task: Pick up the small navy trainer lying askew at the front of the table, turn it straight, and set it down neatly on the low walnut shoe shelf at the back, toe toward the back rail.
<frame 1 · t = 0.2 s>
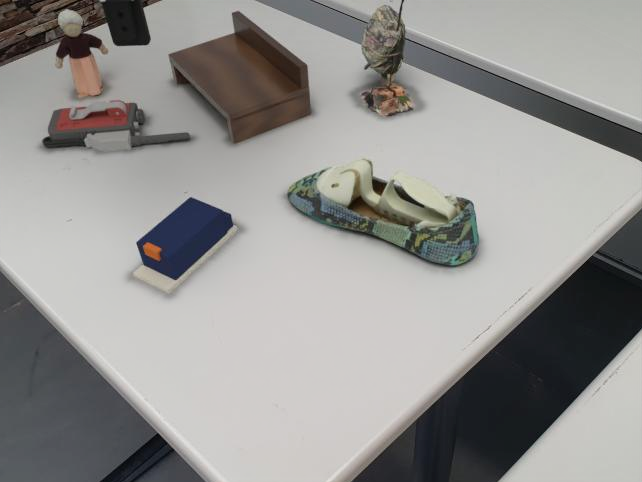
hand: (145, 18, 63), 25 cm above the table, tool pointing down, fingers open, 9 cm apart
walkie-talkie: (121, 138, 96), on the table
plant with pod: (384, 101, 99), on the table
trainer: (188, 256, 79), on the table
grandmother figurine: (95, 95, 104), on the table
shoe shelf: (240, 101, 100), on the table
ballet flat: (380, 226, 81), on the table
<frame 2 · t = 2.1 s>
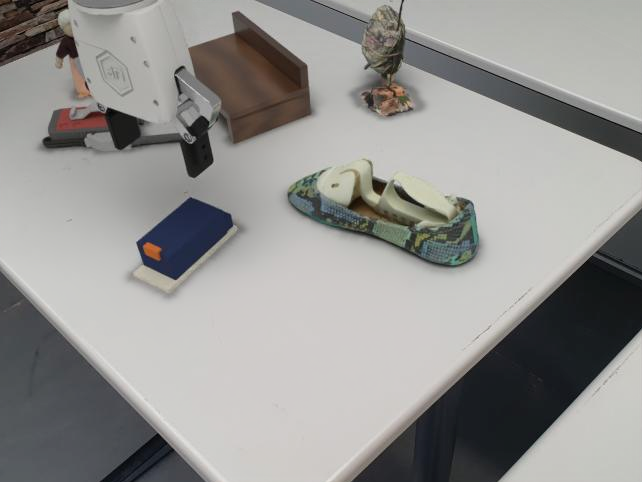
hand: (164, 156, 69), 14 cm above the table, tool pointing down, fingers open, 9 cm apart
nothing on the table moved.
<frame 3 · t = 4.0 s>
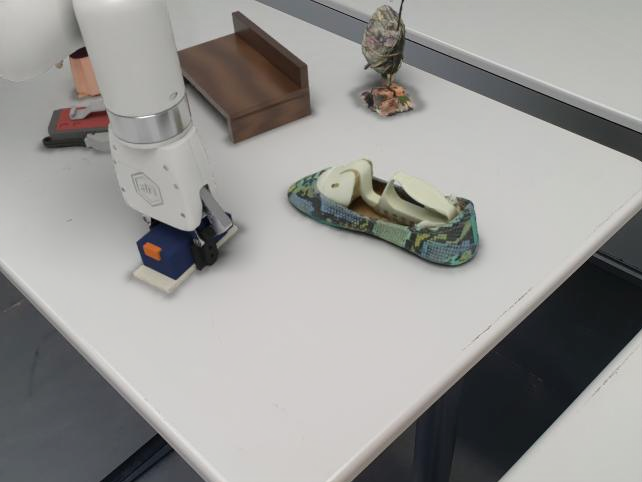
hand: (187, 253, 78), 0 cm above the table, tool pointing down, fingers closed on trainer, 5 cm apart
trainer: (188, 256, 79), on the table, touching gripper
everything else where it was.
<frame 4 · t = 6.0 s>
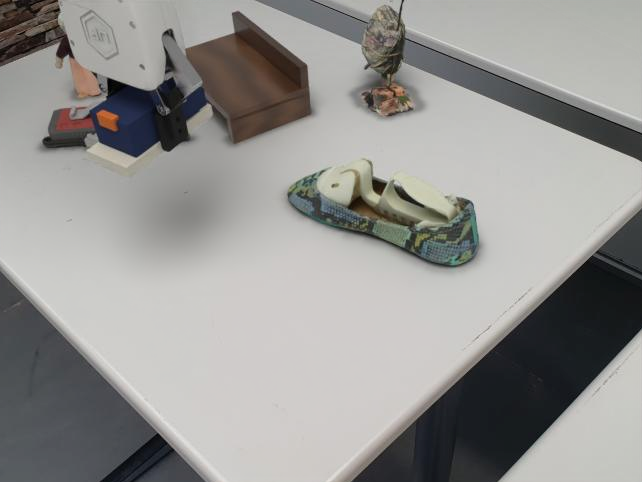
hand: (152, 133, 67), 16 cm above the table, tool pointing down, fingers closed on trainer, 5 cm apart
trainer: (153, 137, 67), point 16 cm above the table, touching gripper
everything else where it was.
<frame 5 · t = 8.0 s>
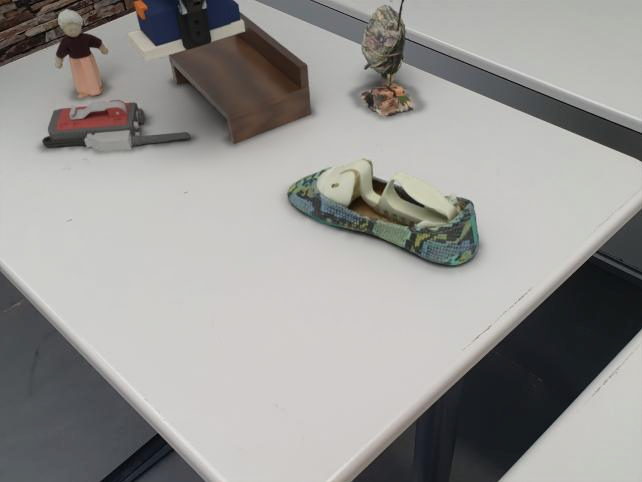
hand: (186, 33, 78), 17 cm above the table, tool pointing down, fingers closed on trainer, 5 cm apart
trainer: (187, 37, 78), point 17 cm above the table, touching gripper
everything else where it was.
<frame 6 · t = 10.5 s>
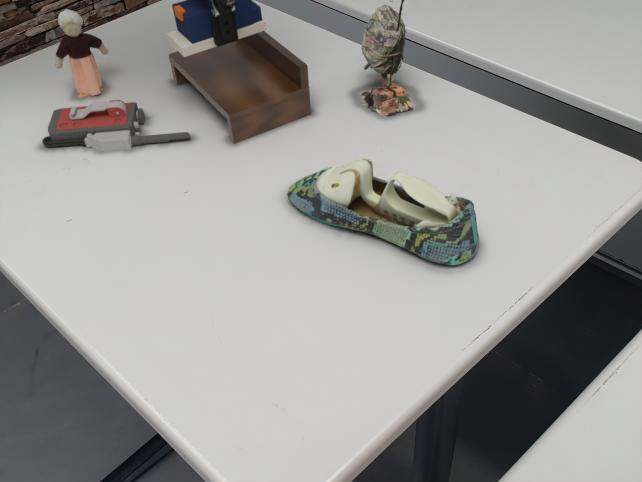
hand: (216, 32, 91), 11 cm above the table, tool pointing down, fingers closed on trainer, 5 cm apart
trainer: (217, 36, 92), point 10 cm above the table, touching gripper
everything else where it was.
when the fingers open (5 cm above the table, at t = 12.3 s): trainer stays where it is, resting on shoe shelf.
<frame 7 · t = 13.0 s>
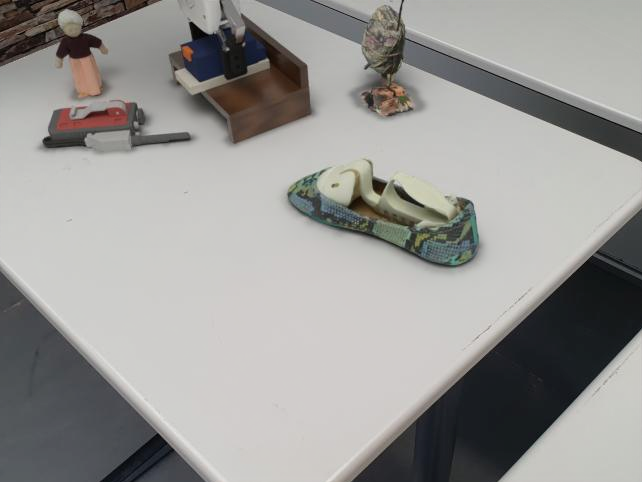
hand: (220, 61, 94), 7 cm above the table, tool pointing down, fingers open, 9 cm apart
trainer: (223, 73, 96), point 5 cm above the table, touching shoe shelf
everything else where it was.
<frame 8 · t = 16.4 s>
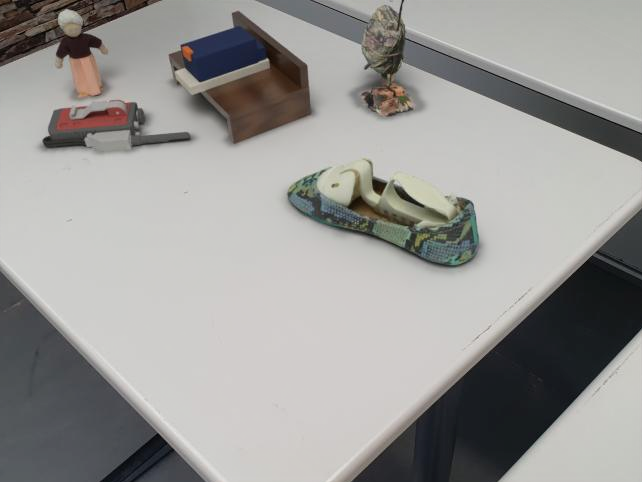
nothing on the table moved.
at the end: trainer inside the target area on the shoe shelf (1.1 cm from its centre), point 5.0 cm above the shoe shelf's base; trainer tilted 0°; the gripper is holding nothing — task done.
